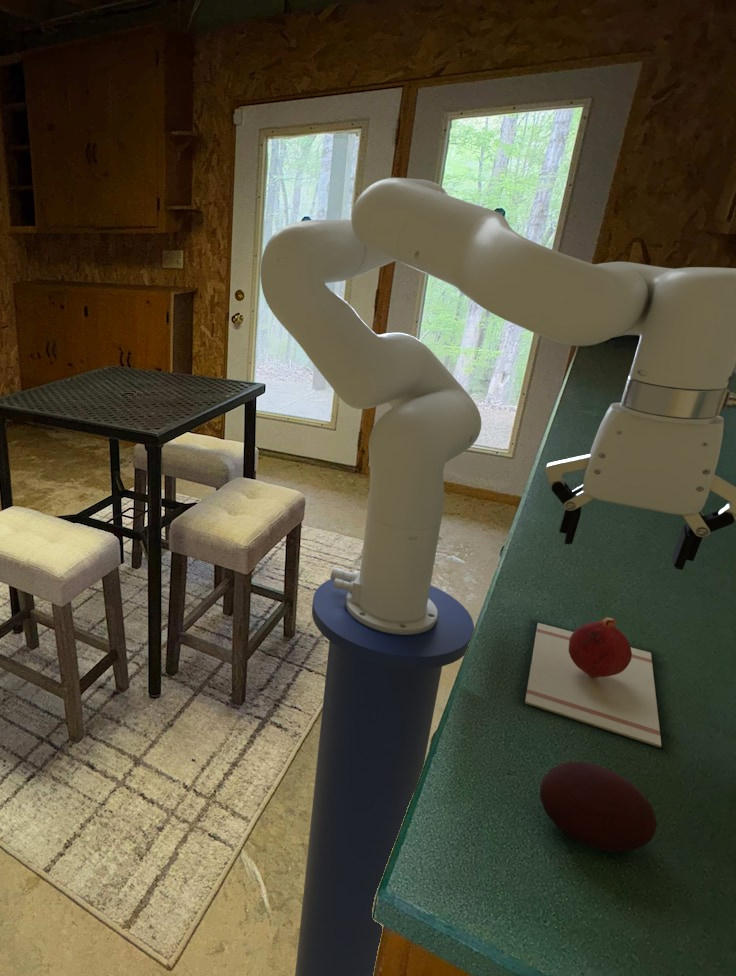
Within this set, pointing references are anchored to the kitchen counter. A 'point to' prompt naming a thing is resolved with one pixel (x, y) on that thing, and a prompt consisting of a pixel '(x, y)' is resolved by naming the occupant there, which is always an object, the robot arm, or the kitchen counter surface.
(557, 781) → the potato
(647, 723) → the napkin
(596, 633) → the pomegranate
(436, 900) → the kitchen counter surface
